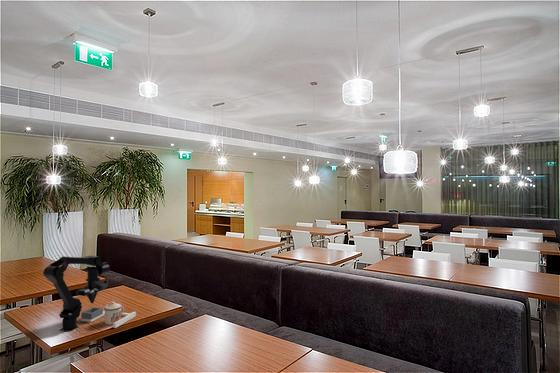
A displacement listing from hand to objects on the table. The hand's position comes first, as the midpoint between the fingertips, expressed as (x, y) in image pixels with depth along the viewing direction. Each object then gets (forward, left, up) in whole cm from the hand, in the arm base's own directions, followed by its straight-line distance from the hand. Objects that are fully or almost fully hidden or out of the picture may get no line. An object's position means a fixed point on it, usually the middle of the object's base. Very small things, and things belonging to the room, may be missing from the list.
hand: (92, 303), depth 198 cm
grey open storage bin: (0, -10, -9) cm, 13 cm away
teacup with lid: (0, -16, -10) cm, 18 cm away
